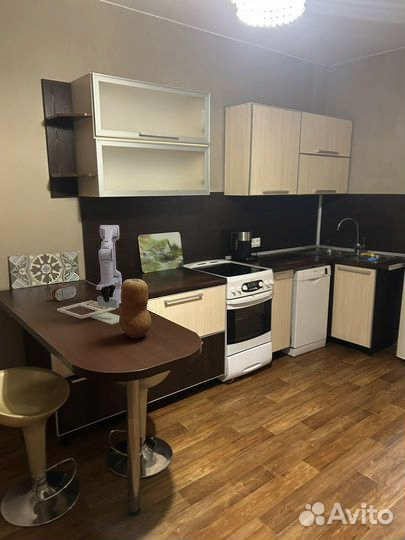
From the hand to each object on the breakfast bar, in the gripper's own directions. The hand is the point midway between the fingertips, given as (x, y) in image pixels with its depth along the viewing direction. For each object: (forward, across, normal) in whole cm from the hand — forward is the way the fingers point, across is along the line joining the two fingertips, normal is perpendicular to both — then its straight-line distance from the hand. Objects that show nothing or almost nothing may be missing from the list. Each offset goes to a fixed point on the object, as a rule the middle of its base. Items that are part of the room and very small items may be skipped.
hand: (108, 301), depth 193 cm
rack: (+9, -7, -19) cm, 22 cm away
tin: (+9, -20, -44) cm, 49 cm away
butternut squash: (+9, +17, +25) cm, 32 cm away
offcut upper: (+8, -13, -17) cm, 23 cm away
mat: (+9, 0, 0) cm, 9 cm away
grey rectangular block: (+3, 0, 0) cm, 3 cm away
